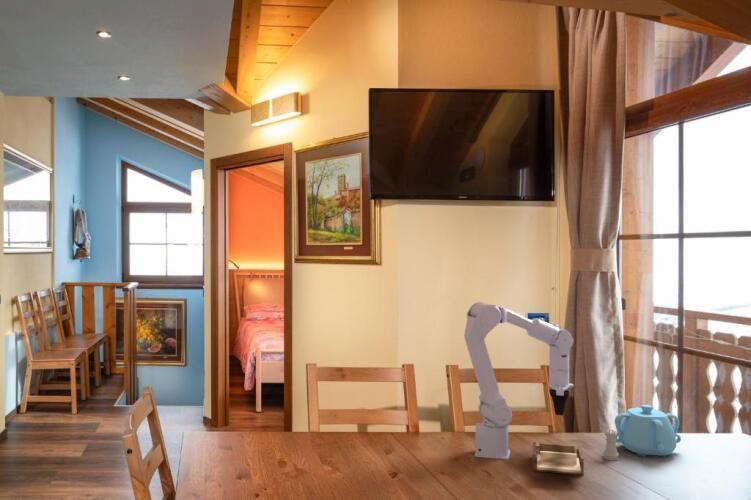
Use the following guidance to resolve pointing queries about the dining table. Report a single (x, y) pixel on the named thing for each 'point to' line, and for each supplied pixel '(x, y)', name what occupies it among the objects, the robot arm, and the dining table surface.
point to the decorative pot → (647, 431)
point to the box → (557, 448)
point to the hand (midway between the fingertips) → (559, 414)
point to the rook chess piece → (611, 446)
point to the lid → (558, 461)
